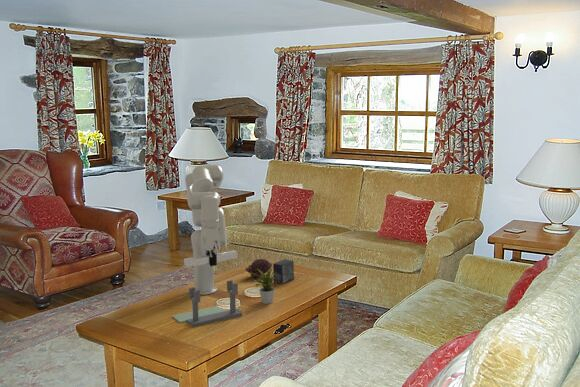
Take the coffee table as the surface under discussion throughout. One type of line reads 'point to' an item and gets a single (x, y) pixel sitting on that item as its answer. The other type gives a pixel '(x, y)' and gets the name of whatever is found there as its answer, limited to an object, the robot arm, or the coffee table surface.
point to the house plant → (266, 287)
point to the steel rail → (205, 258)
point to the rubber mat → (199, 313)
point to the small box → (283, 271)
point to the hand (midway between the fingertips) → (211, 264)
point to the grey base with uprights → (216, 317)
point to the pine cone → (259, 267)
